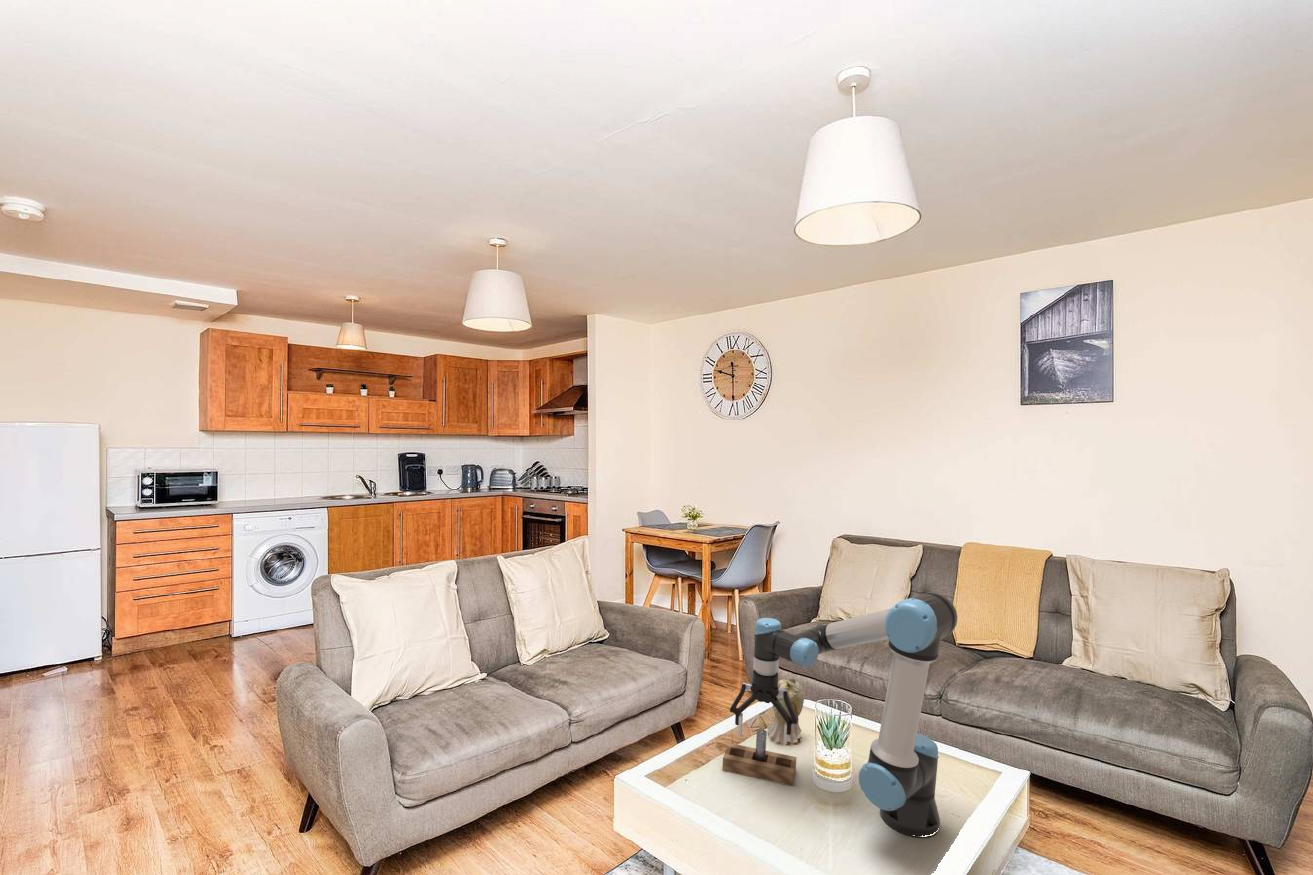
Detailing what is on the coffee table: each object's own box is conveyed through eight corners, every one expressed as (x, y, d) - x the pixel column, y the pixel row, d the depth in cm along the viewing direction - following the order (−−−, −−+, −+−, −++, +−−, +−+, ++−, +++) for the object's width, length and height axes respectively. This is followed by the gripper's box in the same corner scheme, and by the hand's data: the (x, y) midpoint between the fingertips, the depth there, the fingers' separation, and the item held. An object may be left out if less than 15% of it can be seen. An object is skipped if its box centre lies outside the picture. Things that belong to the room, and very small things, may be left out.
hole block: (795, 769, 197) (796, 757, 196) (792, 785, 188) (793, 772, 188) (727, 755, 203) (728, 742, 203) (722, 770, 194) (723, 757, 194)
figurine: (769, 725, 224) (773, 668, 222) (803, 732, 220) (807, 675, 219) (763, 741, 212) (767, 682, 211) (799, 749, 208) (804, 689, 207)
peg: (765, 768, 196) (767, 730, 196) (763, 773, 194) (766, 734, 193) (755, 766, 197) (757, 728, 197) (753, 771, 194) (756, 732, 194)
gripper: (809, 672, 194) (805, 741, 195) (727, 659, 201) (724, 726, 202) (807, 682, 187) (803, 754, 187) (722, 668, 194) (719, 737, 195)
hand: (762, 739), depth 195 cm, fingers open, 13 cm apart
